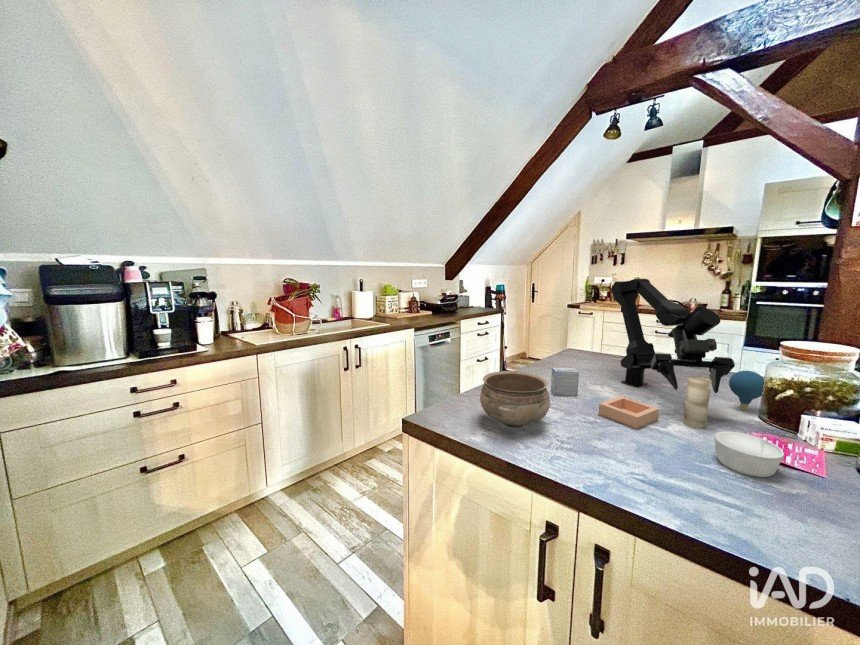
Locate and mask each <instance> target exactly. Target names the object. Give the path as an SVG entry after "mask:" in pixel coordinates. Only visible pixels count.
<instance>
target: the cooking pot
mask: <svg viewBox="0 0 860 645" xmlns="http://www.w3.org/2000/svg"><path fill="white" fill-rule="evenodd" d="M482 382H483V385H482V387H481V390H480V394H479V402H480V405H481V407H482V410H483V411H484V412H485V413H486V414H487V415H488V416H489V417H490V418H491V419H493V420H494V421H496V422H498V423H501V424H502V425H504V426H505V427H510V428H523V427H524V426H528V425H532V424H534V423H535V424H536V423H537V422H539V421H541V420H542V419H544V417H545V416H546V415H547V413H548V412H549V411H550V407H551V397H550V394H549V391H548V389H547V387H549V382H548V380H547V379H546V378H544V377H543V376H540V375H538V374H534V373H531V372H526V371H525V372H524V371H519V370H518V371H517V370H500V371H494V372H490V373H489V372H488V373H487V374H486V375H484V376H483V378H482Z"/></svg>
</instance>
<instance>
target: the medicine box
mask: <svg viewBox="0 0 860 645" xmlns="http://www.w3.org/2000/svg"><path fill="white" fill-rule="evenodd" d="M579 377H580V372H579V371H578V369H576V367H551V381H550V392H551V394H552V395H553V396H561V397H562V396H566V397H568V396H569V397H575V396H576V397H578V393H579V379H580V378H579Z"/></svg>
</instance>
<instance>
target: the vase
mask: <svg viewBox="0 0 860 645" xmlns="http://www.w3.org/2000/svg"><path fill="white" fill-rule="evenodd" d="M711 382H712V381H711V380H710V378H706V377H703V376H697V375H696V376H695V375H691V376H688V377H687V383H686V384H687V385H686V391H685V392H686V394H685V402H684V411H683V419H682V423H683V425H685V426H687V427H689V428H691V429H692V428H693V429H699V430H703V429H706V425H707V419H708V411H709V404H710V397H711V396H710V394H711V389H712V384H711Z"/></svg>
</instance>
